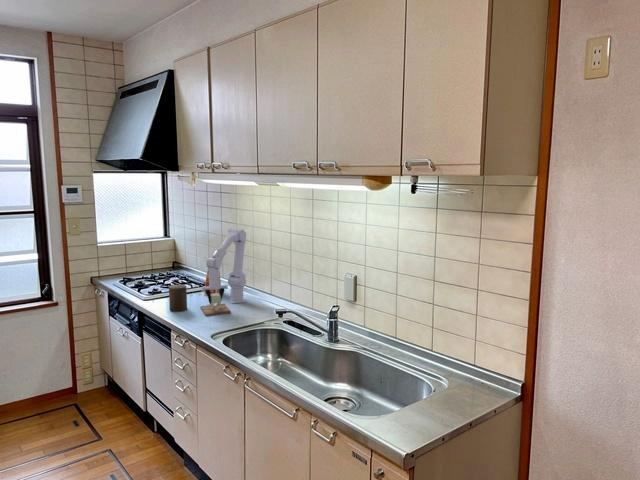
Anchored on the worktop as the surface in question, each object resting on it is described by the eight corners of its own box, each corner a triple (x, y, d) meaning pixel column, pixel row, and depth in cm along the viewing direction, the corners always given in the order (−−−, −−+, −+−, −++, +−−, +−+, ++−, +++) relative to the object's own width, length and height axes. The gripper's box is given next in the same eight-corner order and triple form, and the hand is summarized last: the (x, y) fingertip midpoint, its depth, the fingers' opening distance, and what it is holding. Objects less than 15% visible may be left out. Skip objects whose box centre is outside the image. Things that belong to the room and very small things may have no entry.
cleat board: (200, 308, 280) (200, 303, 280) (224, 305, 285) (224, 301, 285) (205, 316, 265) (205, 311, 265) (230, 313, 271) (230, 308, 270)
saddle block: (209, 304, 276) (209, 293, 275) (218, 303, 278) (218, 293, 277) (211, 306, 271) (211, 296, 270) (220, 305, 273) (220, 295, 272)
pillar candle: (180, 312, 271) (179, 286, 269) (166, 310, 275) (165, 285, 272) (190, 308, 281) (189, 282, 278) (176, 306, 284) (175, 281, 282)
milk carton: (204, 295, 306) (203, 264, 303) (210, 291, 315) (209, 261, 312) (218, 296, 305) (217, 265, 302) (223, 292, 314) (222, 262, 311)
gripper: (202, 281, 266) (203, 305, 268) (228, 279, 272) (229, 302, 274) (200, 278, 272) (201, 302, 275) (225, 276, 278) (226, 299, 280)
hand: (215, 302), depth 275 cm, fingers closed on saddle block, 5 cm apart
